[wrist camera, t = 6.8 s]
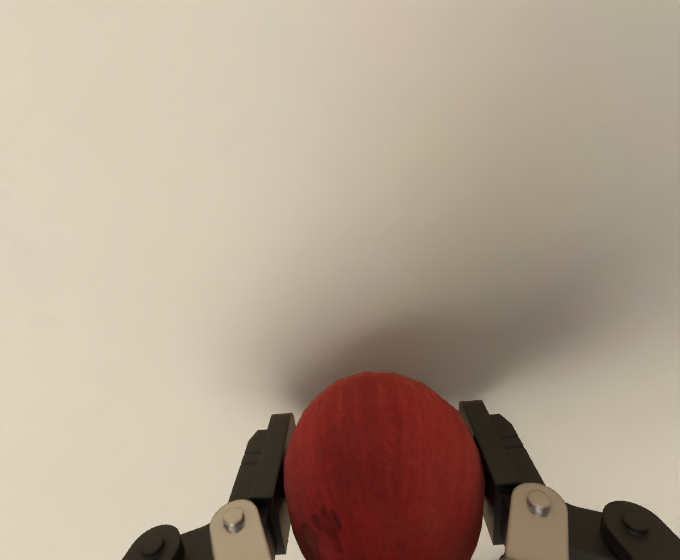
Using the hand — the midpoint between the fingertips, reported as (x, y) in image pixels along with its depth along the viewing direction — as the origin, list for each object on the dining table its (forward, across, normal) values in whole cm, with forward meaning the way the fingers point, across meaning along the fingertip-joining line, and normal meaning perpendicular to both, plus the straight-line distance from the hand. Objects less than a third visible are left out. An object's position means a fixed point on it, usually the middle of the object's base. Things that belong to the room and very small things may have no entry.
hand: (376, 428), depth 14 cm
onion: (+2, 0, -1) cm, 2 cm away
